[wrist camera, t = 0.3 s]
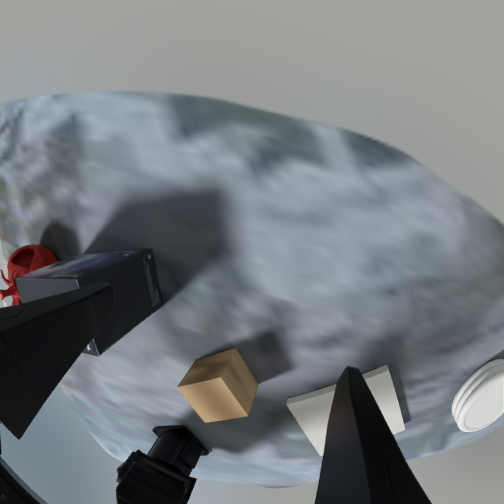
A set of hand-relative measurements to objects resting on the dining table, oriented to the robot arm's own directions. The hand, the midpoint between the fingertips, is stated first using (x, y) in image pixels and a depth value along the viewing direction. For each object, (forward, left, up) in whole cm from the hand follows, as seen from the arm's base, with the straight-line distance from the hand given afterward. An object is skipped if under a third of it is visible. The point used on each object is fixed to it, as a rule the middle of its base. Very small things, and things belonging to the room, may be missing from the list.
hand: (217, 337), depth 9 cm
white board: (0, -21, -15) cm, 26 cm away
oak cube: (-10, -10, -15) cm, 21 cm away
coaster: (+17, -28, -15) cm, 36 cm away
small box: (-16, +4, -15) cm, 22 cm away
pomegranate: (-28, +9, -15) cm, 33 cm away
